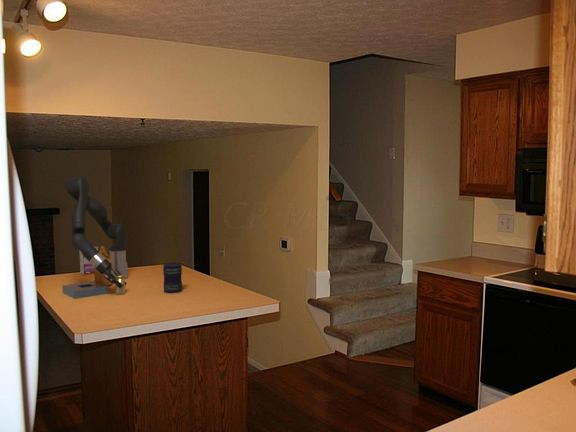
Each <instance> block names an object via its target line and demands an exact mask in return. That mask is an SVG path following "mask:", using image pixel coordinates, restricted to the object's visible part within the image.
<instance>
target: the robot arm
mask: <svg viewBox="0 0 576 432" xmlns="http://www.w3.org/2000/svg"><path fill="white" fill-rule="evenodd" d="M64 187H65V190H66V192H67V193H68V194H69V196H70V197H72V198H73V199H74V200H75V201H76V204H75V207H74V209H73V210H72V213H71V221H70V222H71V245H72V247H73V248H74V249H75V250H78V251H79V250H80V251H81V252H82V254H83V256H84V257H85V258H86V259H87V260H88V261H89V262H90V263H91V264H92V266H93V267H94V268H95V269H96V270H97V271H98V272H99V273H100V274H105V275H104V278H106V279H107V280H108V281H109V282H111V283H112V285H113V284H114V285H115V284H116V285H117V286H118V287H119V288H122V287H123V285H122V284H121V283H120V282H119V281H118V280H117V278H116V275H119V274H124V275H125V279H128V278H129V276H128V274H129V273H128V262H127V255H126V254H127V253H126V252H127V250H126V249H127V244H128V231H127V227H126V225H125V224H121V223H113V222H112V221H111V220H110V219H109V218H108V217H109V216H108V215H109V214H108V213H109V212H108V210H107V208H106V206H105V205H104V204H103V203H102V202H101V201H100V200H99V199H97V198H94V197H92V196H90V195H89V190H90V183H89V181H88V179H87V178H86V177H85V176H77V177H73V178H72V177H71V178H70V179H66V181H65V182H64ZM86 213H88V214H89V216H91V218H92V219H93V220H94V221H95V222H96V223H97V224H98V226H100V228H101V229H102V231H103V232H104V234H105V235H106V236H107V237H108V239H111V240H115V243H114V244H112V245H111V244H110V246H109V257H110V259H111V260H112V264H111V263H110V262H109V261H108V260H107V259H106V258H105V257H104V256H103V255H102V254H101V253H100V252H99V251H100V250H99V251H98V250H97V249H96V248H94V247H95V246H94V245H93V244H92V243H91V241H90V240H89V239H88V238H87V237H86V225H87V224H86ZM111 266H112V268H111ZM126 285H128V283H127V281H125V286H126Z"/></svg>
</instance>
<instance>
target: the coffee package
mask: <svg viewBox="0 0 576 432" xmlns="http://www.w3.org/2000/svg"><path fill="white" fill-rule="evenodd" d="M107 250H108V249H107V248H105V246H103V245H101V246H100V248H99V252H100V253H101V254H102V255H103V256H104V257H105V258H106V259H107V260H108V261H109V262H110V263H111V264H112V260H111V259H110V255H108V253H107ZM111 268H112V266H111ZM93 274H94V275H93V277H94V278H93V279H94V281H97V282H99V283H102V284H105V285H107V286H111V285H113V284H112V283H111V282H109V281H108V280H107V279H106V278H104V275H105V274H100V273H99V272H98V271H97V270H96V269H95V273H93Z"/></svg>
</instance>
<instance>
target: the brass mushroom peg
mask: <svg viewBox="0 0 576 432" xmlns="http://www.w3.org/2000/svg"><path fill="white" fill-rule="evenodd" d="M116 278H117V280H118V281H119V282H120V283H121V284H122V285H123V287H122V288H119V287H118V286H117V285H116V284H114V286H115V295H116V296H123V295H125V294H126V285H125V282H126V278H125V275H124V274H119V275H116Z"/></svg>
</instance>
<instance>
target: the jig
mask: <svg viewBox="0 0 576 432" xmlns="http://www.w3.org/2000/svg"><path fill="white" fill-rule="evenodd" d="M61 287H62V294H64V295H66V296H67V297H70V298H72V299H75V300H76V299H82V298H91V297H95V296H102V295H108V294H110V285H105V284H102V283H99V282H97V281H95V280H94V281H92V280H91V281H86V282H85V281H84V282H79V283H71V284H64V285H62V286H61Z"/></svg>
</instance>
